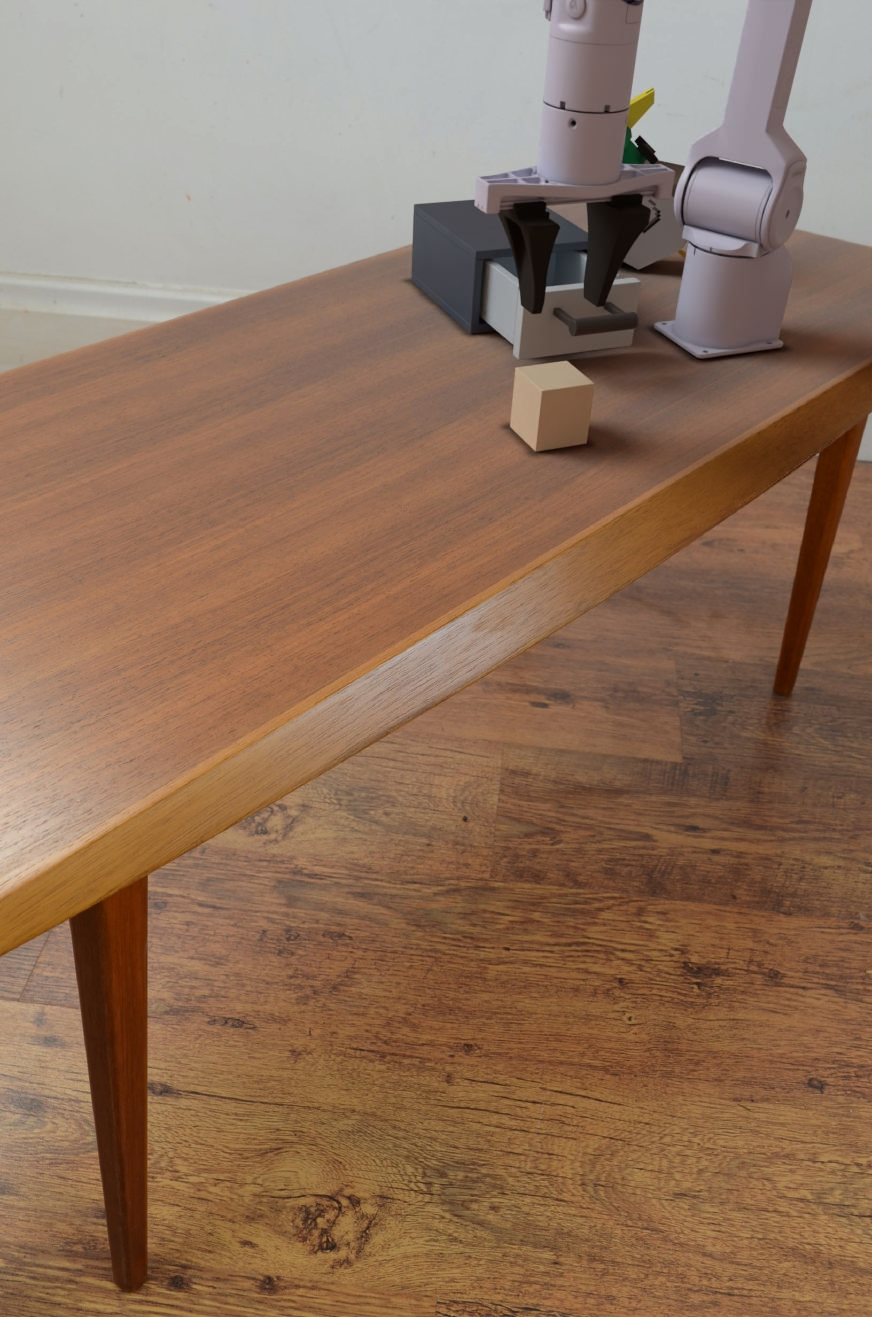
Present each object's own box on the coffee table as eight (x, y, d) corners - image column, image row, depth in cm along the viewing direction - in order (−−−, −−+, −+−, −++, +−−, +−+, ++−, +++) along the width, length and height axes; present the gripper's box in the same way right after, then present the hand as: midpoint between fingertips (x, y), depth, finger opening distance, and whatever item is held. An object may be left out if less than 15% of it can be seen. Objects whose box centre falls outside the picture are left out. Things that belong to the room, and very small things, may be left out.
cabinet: (589, 319, 110) (599, 239, 106) (470, 334, 106) (475, 251, 102) (521, 269, 121) (528, 194, 116) (411, 281, 117) (413, 203, 112)
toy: (770, 214, 117) (632, 67, 111) (647, 335, 124) (513, 203, 119) (761, 202, 122) (630, 61, 116) (644, 318, 130) (516, 191, 124)
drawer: (658, 364, 100) (669, 299, 97) (542, 380, 96) (549, 313, 93) (561, 293, 113) (568, 233, 110) (455, 305, 109) (459, 243, 106)
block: (559, 419, 93) (566, 360, 90) (586, 443, 90) (595, 383, 87) (509, 426, 91) (515, 367, 88) (535, 451, 88) (542, 390, 85)
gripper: (648, 86, 81) (620, 277, 89) (461, 94, 76) (450, 296, 85) (704, 109, 76) (669, 309, 84) (507, 119, 71) (491, 331, 79)
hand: (562, 305), depth 84 cm, fingers open, 5 cm apart
